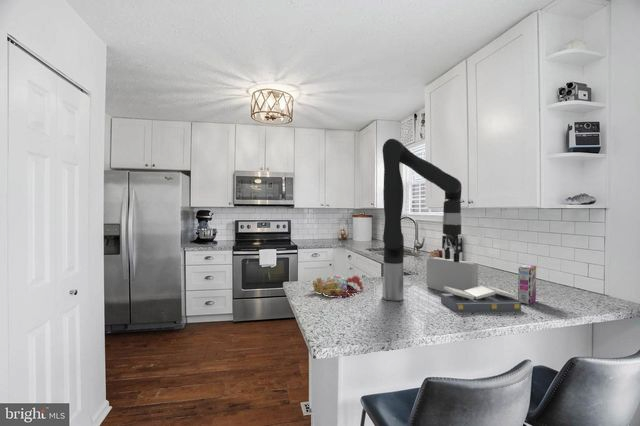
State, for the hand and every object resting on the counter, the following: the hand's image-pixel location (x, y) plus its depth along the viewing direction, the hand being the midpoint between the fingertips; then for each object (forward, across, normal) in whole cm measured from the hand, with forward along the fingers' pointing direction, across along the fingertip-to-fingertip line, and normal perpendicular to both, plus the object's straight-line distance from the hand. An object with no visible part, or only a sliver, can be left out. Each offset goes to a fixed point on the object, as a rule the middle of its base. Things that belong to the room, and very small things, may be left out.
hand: (451, 260), depth 140 cm
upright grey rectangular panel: (+20, -25, +12) cm, 35 cm away
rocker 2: (+14, +1, +12) cm, 18 cm away
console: (+20, +1, +12) cm, 23 cm away
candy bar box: (+20, -5, +38) cm, 43 cm away
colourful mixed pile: (+21, -28, -47) cm, 59 cm away
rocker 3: (+14, +1, +22) cm, 26 cm away
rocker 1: (+14, +1, +3) cm, 14 cm away
